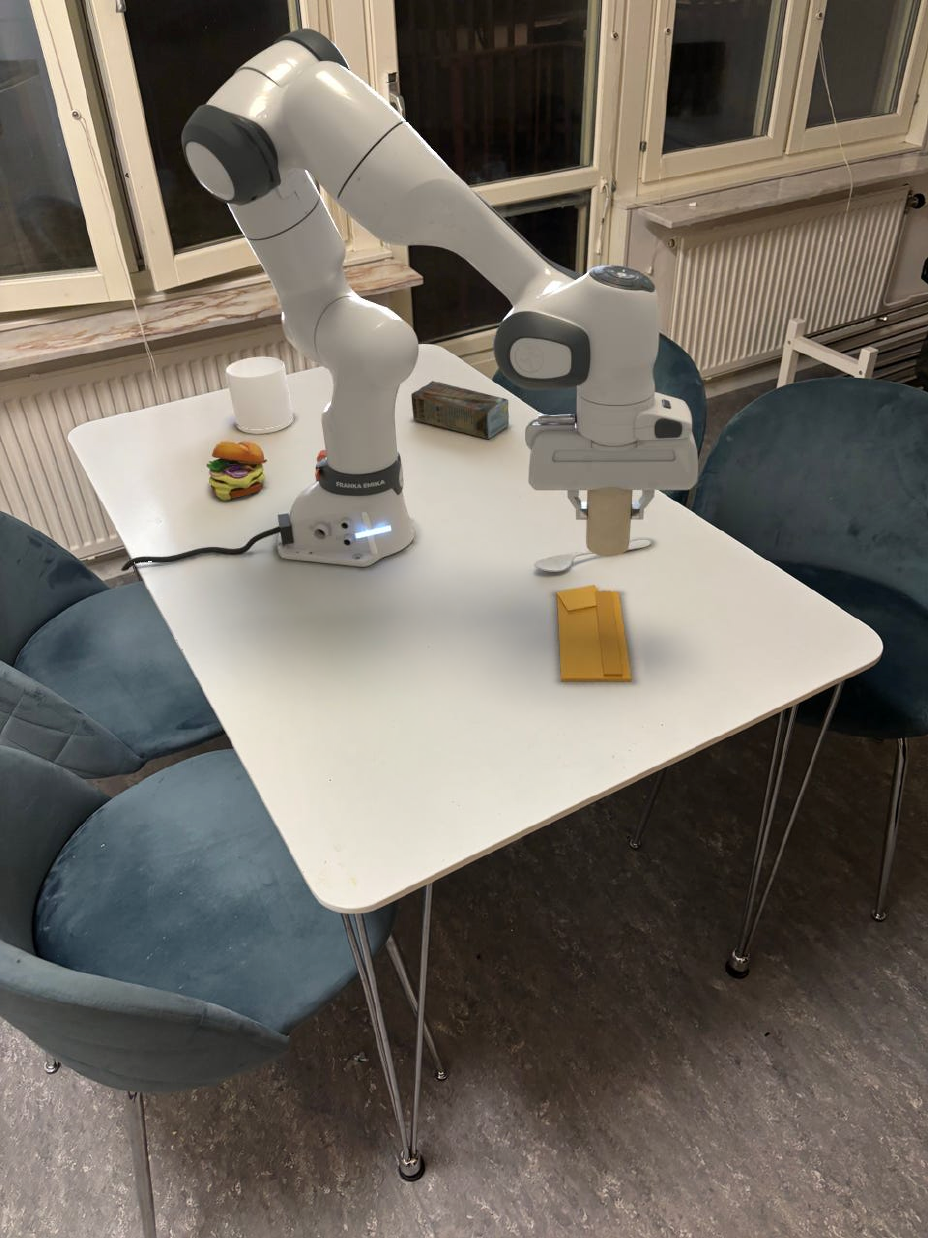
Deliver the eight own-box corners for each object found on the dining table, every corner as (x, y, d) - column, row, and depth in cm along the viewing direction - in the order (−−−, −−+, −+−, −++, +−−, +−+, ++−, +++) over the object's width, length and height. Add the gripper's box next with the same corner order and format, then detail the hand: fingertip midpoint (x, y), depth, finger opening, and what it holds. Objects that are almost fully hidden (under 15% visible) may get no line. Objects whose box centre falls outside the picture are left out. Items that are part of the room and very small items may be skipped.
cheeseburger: (196, 498, 163) (192, 442, 159) (232, 485, 172) (228, 432, 169) (244, 505, 160) (240, 449, 156) (277, 492, 169) (275, 438, 165)
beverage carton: (488, 441, 178) (487, 409, 174) (410, 421, 187) (408, 391, 183) (510, 426, 183) (509, 395, 179) (433, 408, 192) (431, 378, 188)
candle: (627, 558, 113) (631, 487, 107) (583, 555, 115) (585, 484, 109) (631, 535, 118) (635, 466, 112) (588, 532, 119) (590, 463, 113)
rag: (560, 681, 118) (560, 675, 118) (555, 589, 135) (556, 584, 135) (631, 681, 117) (631, 676, 117) (617, 589, 135) (617, 584, 134)
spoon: (528, 567, 140) (528, 558, 139) (643, 536, 146) (643, 527, 145) (540, 580, 137) (540, 571, 136) (657, 548, 143) (658, 539, 142)
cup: (239, 413, 194) (228, 358, 187) (294, 408, 195) (285, 354, 188) (234, 436, 185) (222, 379, 178) (291, 431, 186) (282, 374, 178)
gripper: (524, 426, 104) (525, 530, 112) (706, 424, 102) (694, 530, 110) (525, 404, 109) (527, 505, 117) (699, 401, 107) (688, 504, 115)
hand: (609, 517), depth 114 cm, fingers closed on candle, 5 cm apart
